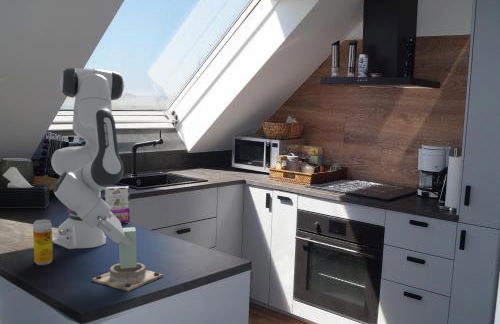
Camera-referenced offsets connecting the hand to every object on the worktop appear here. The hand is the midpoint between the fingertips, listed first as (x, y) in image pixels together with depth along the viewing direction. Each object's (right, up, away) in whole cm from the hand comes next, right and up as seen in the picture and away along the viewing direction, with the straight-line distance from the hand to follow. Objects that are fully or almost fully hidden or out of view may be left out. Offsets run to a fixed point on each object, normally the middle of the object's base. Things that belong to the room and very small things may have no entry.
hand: (129, 241), depth 176 cm
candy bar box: (-22, -2, +76) cm, 79 cm away
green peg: (-1, -8, +1) cm, 8 cm away
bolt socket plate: (-1, -12, +2) cm, 12 cm away
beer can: (-34, -10, +16) cm, 39 cm away
